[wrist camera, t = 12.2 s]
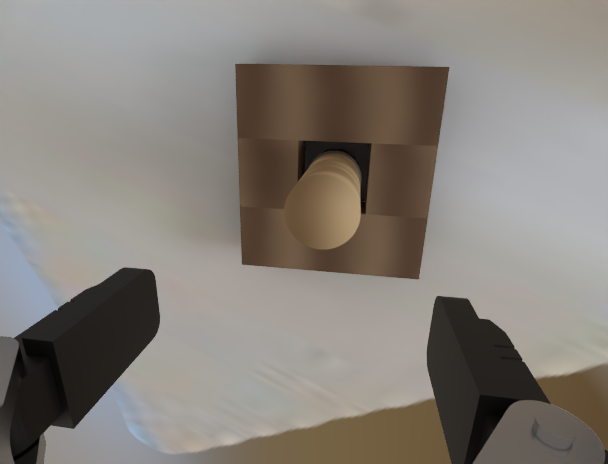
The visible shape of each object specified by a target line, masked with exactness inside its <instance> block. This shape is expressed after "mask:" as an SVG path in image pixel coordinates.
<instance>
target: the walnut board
mask: <svg viewBox="0 0 608 464" xmlns="http://www.w3.org/2000/svg"><path fill="white" fill-rule="evenodd" d="M235 66H236V96H237V126H238V156H239V187H240V217H241V247H242V264H243V265H255V266H267V267H279V268H291V269H303V270H315V271H326V272H338V273H350V274H362V275H374V276H386V277H398V278H410V279H419V274H420V267H421V260H422V253H423V246H424V239H425V232H426V225H427V218H428V211H429V204H430V197H431V190H432V183H433V176H434V169H435V163H436V156H437V149H438V142H439V135H440V128H441V121H442V114H443V107H444V100H445V93H446V86H447V79H448V72H449V67H413V66H346V65H279V64H235ZM305 141H326V142H351V143H370V146H369V158H368V170H367V182H366V193H365V202H360V206H361V217H360V222H359V226H358V228H357V230H356V232H355V233H354V235H353V236H352V237H351V238H350V239H349V240H348V241H347V242H346V243H344V244H342V245H341V246H338V247H336V248H332V249H325V250H324V249H314V248H311V247H308V246H306V245H304V244H302V243H301V242H299V241H298V240H297V239H296V238H295V237H294V236H293V235H292V234H291V232H290V231H289V229H288V227H287V224H286V221H285V217H284V207H285V202H286V199H287V197H288V195H289V193H290V192H291V190H292V189H293V188H294V186H295V185H296V184H297V182H298V181H299V180H300V179H301V177H302V176H303V175H304V173H305Z"/></svg>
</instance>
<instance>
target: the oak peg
mask: <svg viewBox="0 0 608 464" xmlns="http://www.w3.org/2000/svg"><path fill="white" fill-rule="evenodd" d="M360 187H361V171H360V168H359V164H358V162H357V160H356V159H355V157H354V156H353V155H352V154H351V153H349V152H347V151H345V150H343V149H329V150H326V151H324V152H322V153H321V154H320V155H318V156H317V157H316V158H315V159H314V160H313V161H312V162H311V164H310V165H309V167H308V169H307V171H306V172H305V173H304V175H303V176H302V177H301V179H300V180H299V181H298V182H297V184H296V185H295V186H294V188H293V189H292V190H291V192H290V193H289V195H288V197H287V199H286V202H285V207H284V217H285V221H286V224H287V227H288V229H289V231H290V232H291V234H292V235H293V236H294V237H295V238H296V239H297V240H298V241H299V242H301V243H302V244H304V245H306V246H308V247H311V248H314V249H324V250H325V249H332V248H336V247H338V246H341V245H342V244H344V243H346V242H347V241H348V240H349V239H350V238H351V237H352V236H353V235H354V233H355V232H356V230H357V228H358V226H359V222H360V217H361V206H360Z"/></svg>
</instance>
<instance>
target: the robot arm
mask: <svg viewBox="0 0 608 464" xmlns="http://www.w3.org/2000/svg"><path fill="white" fill-rule="evenodd" d="M159 324H160V313H159V305H158V297H157V288H156V280H155V276H154V273H153V272H152V271H151V270H148V269H137V268H122V269H120V270H119V271H118V272H116V273H115V274H113V275H112V276H110V277H109V278H107V279H106V280H104V281H103V282H102V283H100V284H98V285H96V286H94V287H91V288H89V289H86V290H84V291H83V292H81V293H80V294H78V295H77V296H76V297H74V298H73V299H71V301H70V302H67V303H65V304H64V305H62V306H61V307H59V308H58V311H57V310H55V311H53V312H52V313H50V314H49V315H48V316H46V317H45V318H43V319H42V320H40V321H39V322H37V323H36V324H34V325H33V326H31V327H30V328H29V329H27V330H25V331H24V332H22V333H21V334H19V335H18V336H16V337H15V338H11V337H0V464H44V457H45V449H46V440H45V436H44V432H45V430H46V429H47V428H48V427H49V426H50V425H53V426H59V427H66V428H72V429H74V428H75V427H76V425H77V424H78V423H79V422H80V421H81V420H82V419H83V418H84V416H85V415H86V414H87V413H88V412H89V411H90V410H91V409H92V407H93V406H94V405H95V404H96V403H97V402H98V401H99V399H100V398H101V397H102V396H103V395H104V394H105V393H106V392H107V390H108V389H109V388H110V387H111V386H112V385H113V384H114V382H115V381H116V380H117V379H118V378H119V377H120V376H121V375H122V373H123V372H124V371H125V370H126V369H127V368H128V367H129V365H130V364H131V363H132V362H133V361H134V360H135V359H136V358H137V356H138V355H139V354H140V353H141V352H142V351H143V350H144V348H145V347H146V346H147V345H148V344H149V343H150V342H151V341H152V339H153V338H154V337H155V335H156V333H157V331H158V328H159ZM427 367H428V372H429V376H430V380H431V384H432V388H433V392H434V396H435V400H436V404H437V408H438V412H439V416H440V420H441V424H442V427H443V431H444V435H445V439H446V443H447V447H448V451H449V455H450V459H451V463H452V464H608V451H607V450H604V447H603V445H602V443H601V441H600V440H599V438H598V436H597V435H596V434H595V433H594V432H593V431H592V430H591V429H590V428H589V427H588V426H587V425H586V424H585V423H584V422H582V421H581V420H580V419H578V418H577V417H575V416H574V415H572V414H571V413H569V412H567V411H565V410H563V409H561V408H559V407H557V406H554V405H551V404H550V402H549V400H548V399H547V397H546V396H545V394H544V393H543V391H542V389H541V388H540V386H539V385H538V383H537V381H536V380H535V378H534V377H533V375H532V374H531V372H530V370H529V369H528V367H527V366H526V364H525V363H524V362H522V358H521V356H520V355H519V353H518V351H517V350H515V349H514V345H513V344H512V342H511V340H510V339H509V337H508V336H507V334H506V333H505V332H504V331H503V330H502V329H500V328H499V327H498V326H497V325H495V324H494V323H493V322H492V321H490V320H487V319H479V318H478V316H477V314H476V312H475V310H474V309H473V307H472V305H471V303H470V301H469V300H468V299H466V298H454V297H443V296H437V297H436V300H435V303H434V308H433V315H432V321H431V327H430V333H429V339H428V346H427Z"/></svg>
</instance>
